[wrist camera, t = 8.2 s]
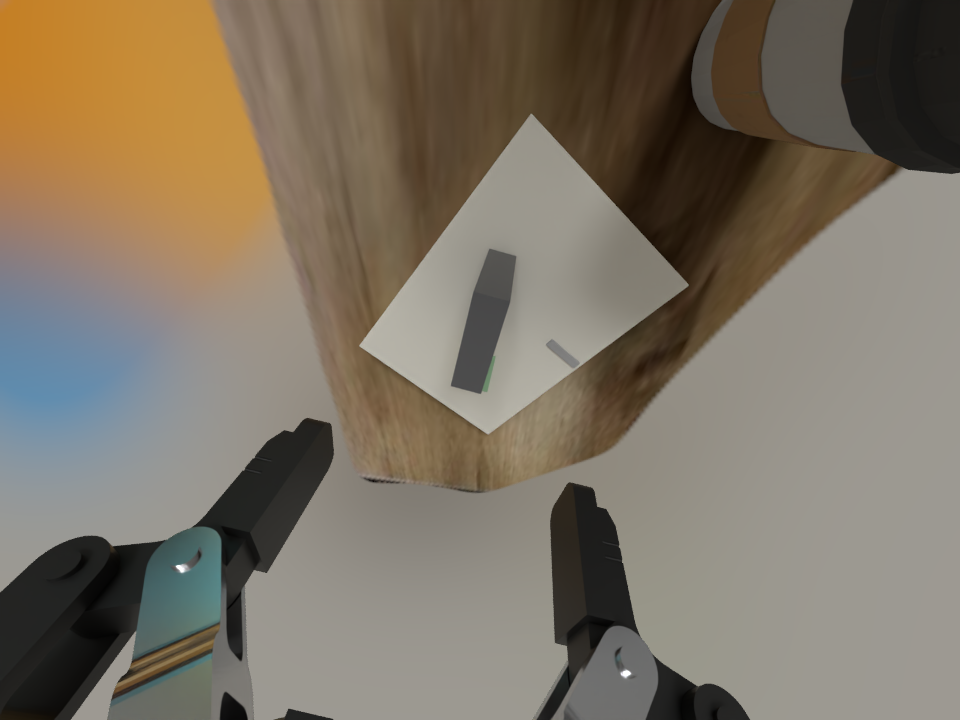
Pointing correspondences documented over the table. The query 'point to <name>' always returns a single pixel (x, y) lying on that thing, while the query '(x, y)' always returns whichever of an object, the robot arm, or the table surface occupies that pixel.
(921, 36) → the coffee cup
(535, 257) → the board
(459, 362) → the dark gray beam
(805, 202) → the table surface
